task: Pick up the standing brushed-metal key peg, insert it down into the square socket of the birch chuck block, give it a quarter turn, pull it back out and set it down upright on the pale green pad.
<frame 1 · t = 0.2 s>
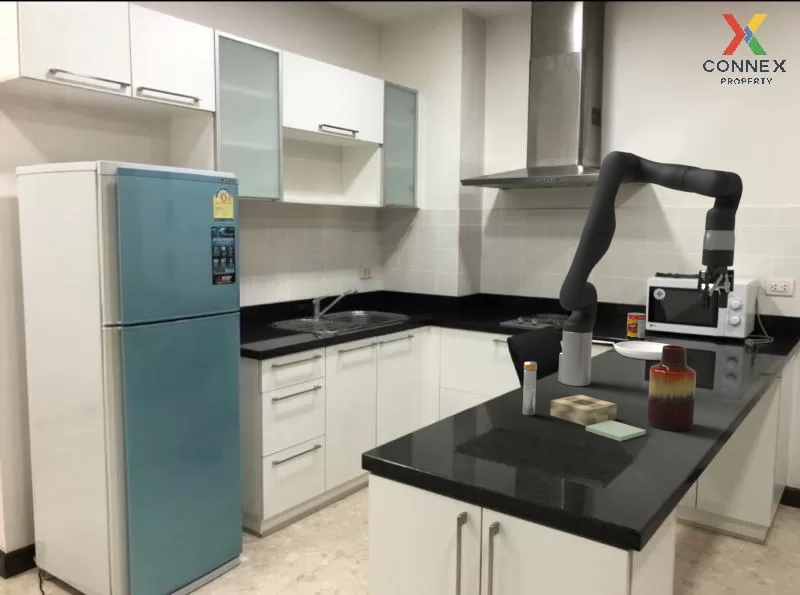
hand: (714, 309, 171), 29 cm above the countertop, fingers open, 8 cm apart
key: (528, 413, 173), on the countertop
canned food: (635, 339, 304), on the countertop
pan: (628, 354, 265), on the countertop
chuck block: (582, 417, 171), on the countertop
pad: (615, 432, 158), on the countertop
vase: (669, 426, 165), on the countertop
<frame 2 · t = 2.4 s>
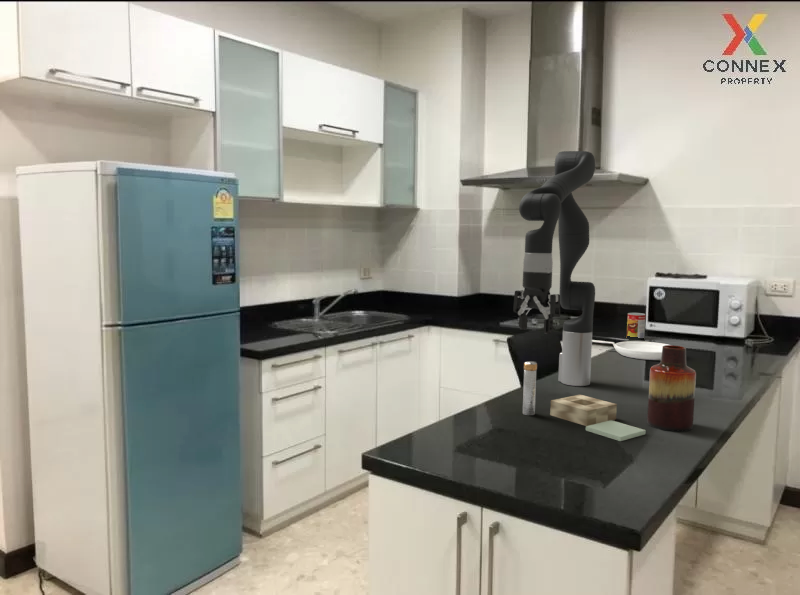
hand: (535, 331, 171), 22 cm above the countertop, fingers open, 8 cm apart
nothing on the countertop moved.
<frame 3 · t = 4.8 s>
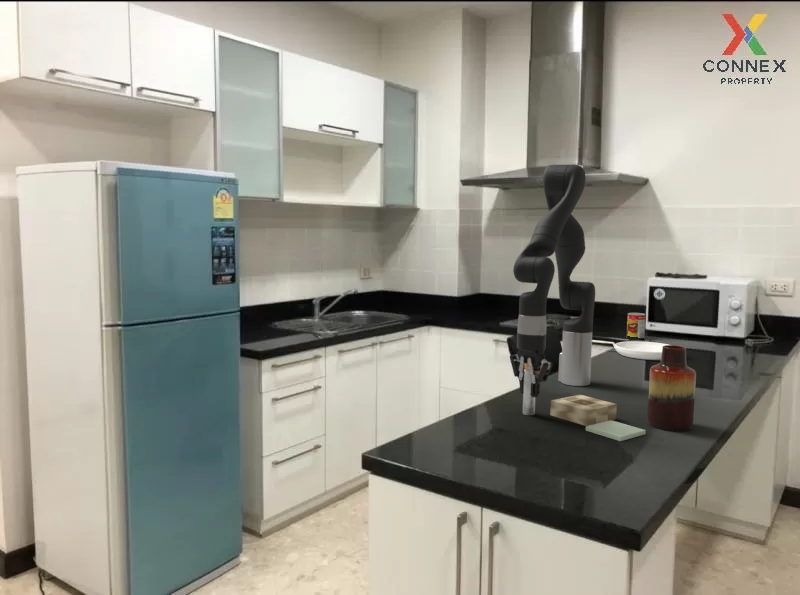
hand: (529, 394, 173), 5 cm above the countertop, fingers closed on key, 3 cm apart
key: (528, 413, 173), on the countertop, touching gripper
everything else where it was.
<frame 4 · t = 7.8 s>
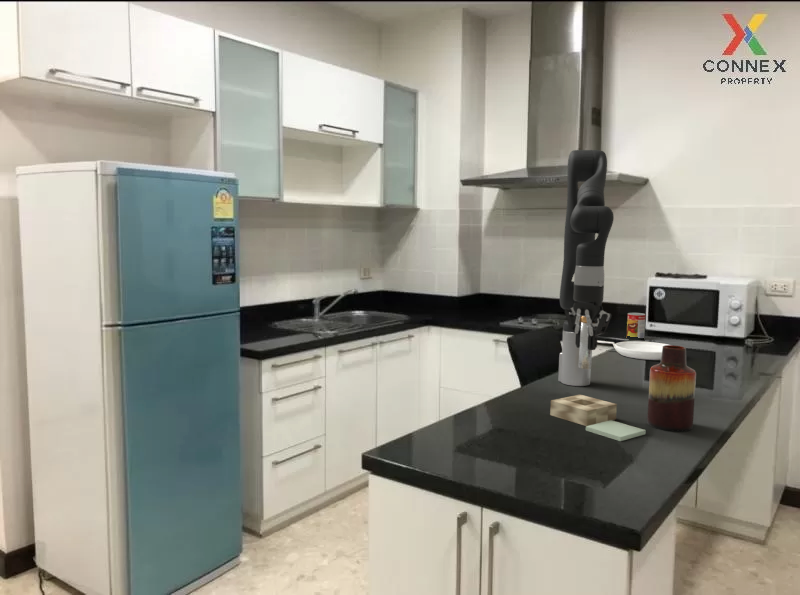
hand: (586, 348, 169), 18 cm above the countertop, fingers closed on key, 3 cm apart
key: (584, 367, 170), point 13 cm above the countertop, touching gripper
everything else where it was.
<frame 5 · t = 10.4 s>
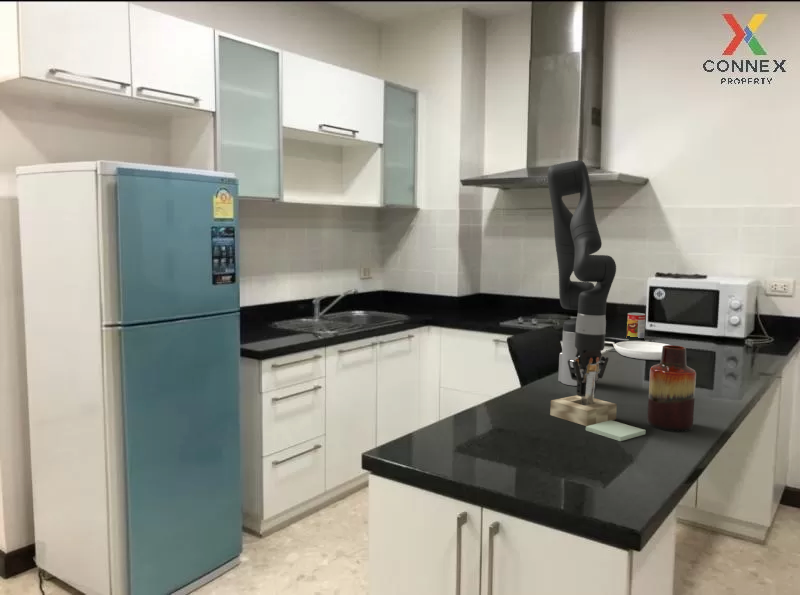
hand: (585, 395, 170), 6 cm above the countertop, fingers closed on key, 3 cm apart
key: (586, 415, 170), point 1 cm above the countertop, touching chuck block, gripper
everything else where it was.
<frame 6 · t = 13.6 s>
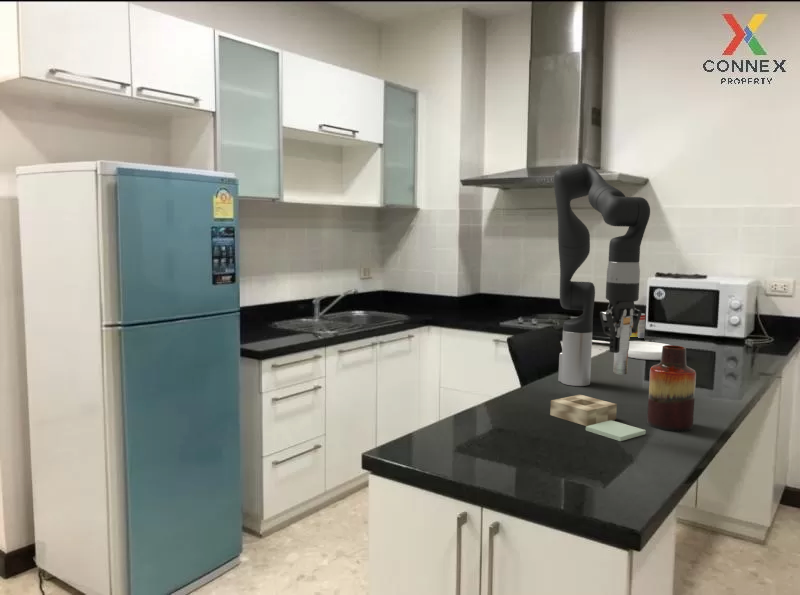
hand: (619, 351, 156), 20 cm above the countertop, fingers closed on key, 3 cm apart
key: (620, 373, 156), point 15 cm above the countertop, touching gripper
everything else where it was.
when the fingers open (7 cm above the countertop, at t = 16.2 s): key stays where it is, resting on pad.
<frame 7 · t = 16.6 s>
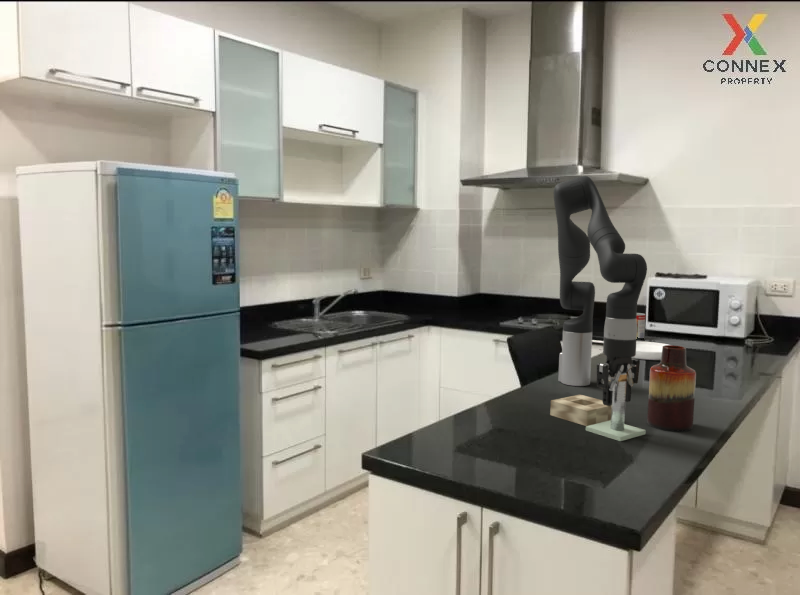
hand: (616, 402, 157), 7 cm above the countertop, fingers open, 6 cm apart
key: (617, 428, 157), point 1 cm above the countertop, touching pad
everything else where it was.
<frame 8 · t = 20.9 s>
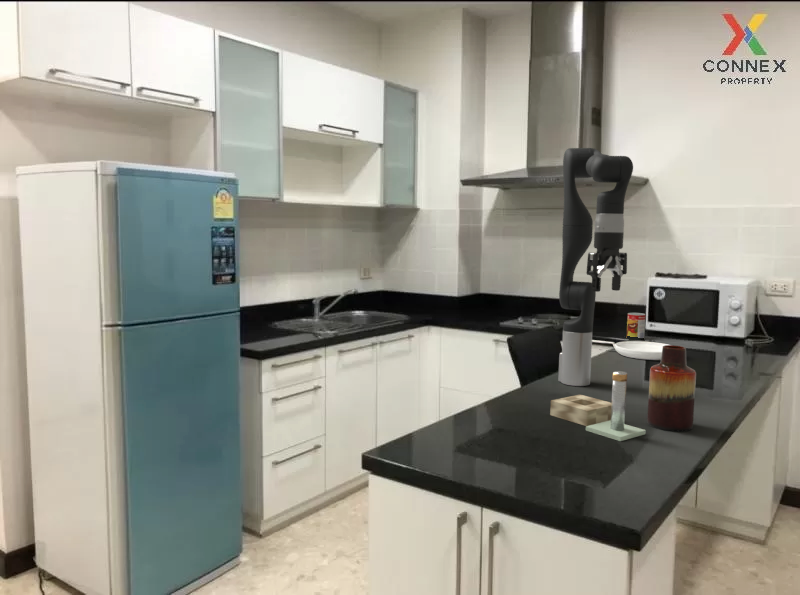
hand: (606, 290, 175), 33 cm above the countertop, fingers open, 8 cm apart
nothing on the countertop moved.
at the end: key inside the target area on the pad (0.5 cm from its centre), point 1.0 cm above the pad's base; key tilted 0°; the gripper is holding nothing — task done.
